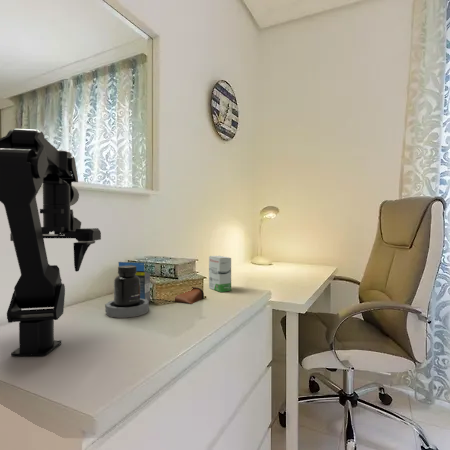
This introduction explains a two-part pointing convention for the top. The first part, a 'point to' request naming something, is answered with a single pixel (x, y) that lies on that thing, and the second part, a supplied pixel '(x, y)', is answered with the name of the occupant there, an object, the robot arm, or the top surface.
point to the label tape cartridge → (141, 279)
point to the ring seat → (127, 309)
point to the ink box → (220, 273)
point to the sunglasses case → (190, 296)
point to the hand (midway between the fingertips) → (57, 271)
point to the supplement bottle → (127, 287)
